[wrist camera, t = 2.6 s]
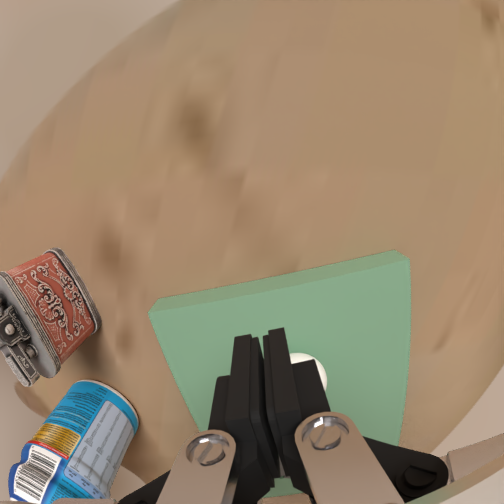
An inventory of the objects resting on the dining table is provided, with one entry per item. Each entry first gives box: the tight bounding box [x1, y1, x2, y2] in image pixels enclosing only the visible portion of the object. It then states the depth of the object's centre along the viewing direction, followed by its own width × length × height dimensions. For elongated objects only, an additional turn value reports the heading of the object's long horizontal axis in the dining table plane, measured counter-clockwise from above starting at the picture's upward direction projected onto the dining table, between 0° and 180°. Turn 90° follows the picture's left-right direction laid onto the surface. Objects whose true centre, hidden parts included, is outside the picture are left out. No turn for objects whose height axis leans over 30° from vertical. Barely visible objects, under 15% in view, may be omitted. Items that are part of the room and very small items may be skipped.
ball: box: [290, 353, 327, 390], centre depth 18 cm, size 4×4×4 cm
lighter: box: [0, 248, 101, 387], centre depth 17 cm, size 8×3×10 cm, turn 26°
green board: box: [148, 250, 411, 498], centre depth 23 cm, size 26×18×2 cm
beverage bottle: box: [8, 379, 139, 504], centre depth 16 cm, size 8×8×20 cm
